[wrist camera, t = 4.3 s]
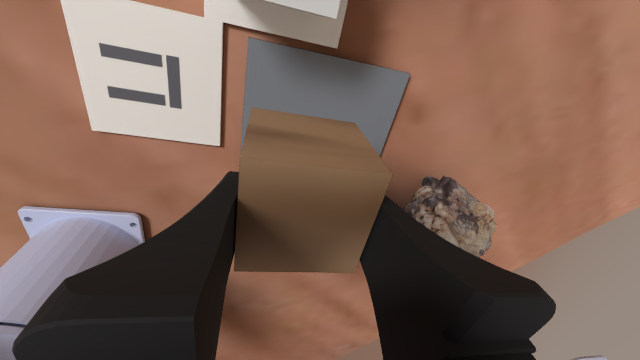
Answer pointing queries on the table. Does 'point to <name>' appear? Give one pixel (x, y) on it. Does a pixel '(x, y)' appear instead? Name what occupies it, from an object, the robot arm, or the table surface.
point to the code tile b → (278, 20)
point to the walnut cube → (305, 194)
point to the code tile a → (148, 69)
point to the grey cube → (311, 6)
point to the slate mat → (322, 88)
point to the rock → (453, 214)
